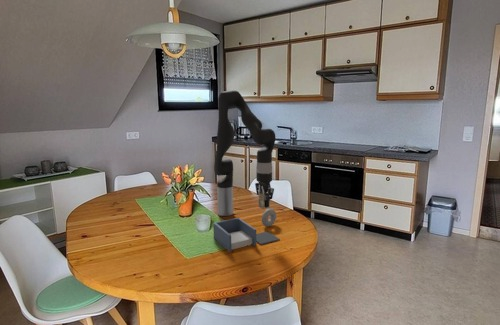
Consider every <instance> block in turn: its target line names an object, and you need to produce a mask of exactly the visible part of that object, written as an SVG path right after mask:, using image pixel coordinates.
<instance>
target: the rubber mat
mask: <svg viewBox="0 0 500 325" xmlns="http://www.w3.org/2000/svg"><path fill="white" fill-rule="evenodd" d="M278 240H279V241H280V240H281V239H280V238H279V237H278V236H276V235H275V234H273V233H271V232H269V231H262V232H259V233H256V244H258V243H259V244H258V245H259V246H262V244H263V245H265V244H266V245H267V244H271V243H274V241H275V242H278ZM270 242H271V243H270Z"/></svg>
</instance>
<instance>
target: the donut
mask: <svg viewBox="0 0 500 325" xmlns="http://www.w3.org/2000/svg"><path fill="white" fill-rule="evenodd" d="M276 220H277V213H276V211H275V209H274V208H266V209H265V211H264V212H262V216H261V224H262V225H263V226H264V227H266V228H268V227H269V226H270V227H271V226H273V225H274V224H275V222H276Z"/></svg>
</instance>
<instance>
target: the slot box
mask: <svg viewBox="0 0 500 325" xmlns="http://www.w3.org/2000/svg"><path fill="white" fill-rule="evenodd" d="M212 225H213V227H212V228H213V230H212V231H213V239H214V238H215V239H216V240H217V243H219V245H220V246H222V247H223V248H224V247H225V248H226V249H227V250H228V251H229V252H228V251H227V250H226V249H225V248H224V249H225V250H226V251H227V252H228V253H232V250H236V249H239V248H243V247H248V246H251V244H253V245H252V246H253V247H256V246H257V242H256V234H257V228H255V227H254V226H252V225H250V224H249V223H247V222H246V221H244V220H243V219H241V218H240V217H235V218H230V219H225V220H220V221H215V222H212ZM215 239H214V240H215ZM216 240H215V241H216ZM247 245H248V246H247ZM231 249H232V250H231Z"/></svg>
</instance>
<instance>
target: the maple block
mask: <svg viewBox="0 0 500 325" xmlns="http://www.w3.org/2000/svg"><path fill="white" fill-rule="evenodd" d="M266 193H268V192H266ZM266 197H267V195H266ZM264 200H265V199H264V195H263V192H262V193H259V195H258V208H261V209H262V210H266V209H271V208H270V207H271V199H270V200H269V207H267V208H265V207H264Z"/></svg>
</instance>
